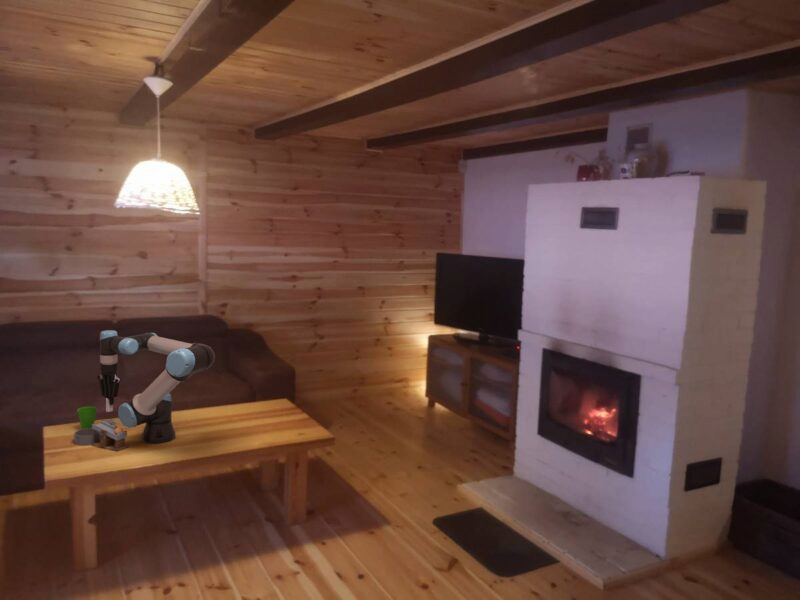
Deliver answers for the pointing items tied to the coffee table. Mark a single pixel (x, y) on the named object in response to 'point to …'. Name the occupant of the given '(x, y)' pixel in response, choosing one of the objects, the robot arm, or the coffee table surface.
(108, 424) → the grey slab
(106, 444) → the fulcrum
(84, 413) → the cup
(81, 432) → the dish
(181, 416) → the coffee table surface
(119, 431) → the ball
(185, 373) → the robot arm
